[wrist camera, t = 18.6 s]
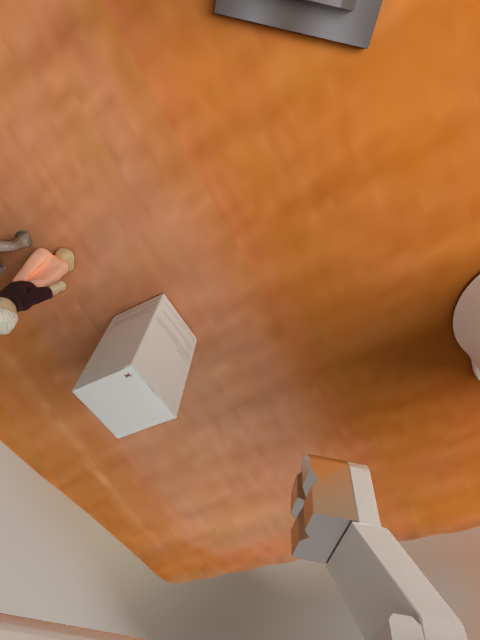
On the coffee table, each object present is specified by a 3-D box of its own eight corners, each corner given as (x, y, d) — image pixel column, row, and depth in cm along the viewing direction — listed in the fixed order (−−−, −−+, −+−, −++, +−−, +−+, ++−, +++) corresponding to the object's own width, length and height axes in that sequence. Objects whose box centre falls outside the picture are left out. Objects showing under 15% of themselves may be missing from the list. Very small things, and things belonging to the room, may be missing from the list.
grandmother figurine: (72, 235, 46) (8, 296, 35) (90, 267, 48) (35, 334, 37) (11, 255, 47) (-66, 319, 37) (31, 285, 49) (-37, 354, 39)
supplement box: (112, 315, 51) (67, 390, 40) (165, 291, 48) (132, 363, 38) (148, 361, 54) (116, 441, 44) (199, 340, 52) (178, 419, 41)
